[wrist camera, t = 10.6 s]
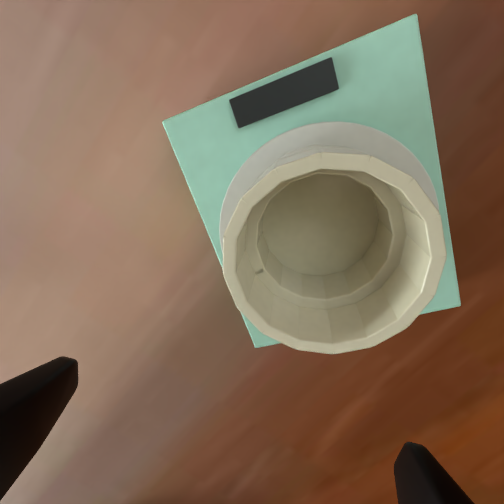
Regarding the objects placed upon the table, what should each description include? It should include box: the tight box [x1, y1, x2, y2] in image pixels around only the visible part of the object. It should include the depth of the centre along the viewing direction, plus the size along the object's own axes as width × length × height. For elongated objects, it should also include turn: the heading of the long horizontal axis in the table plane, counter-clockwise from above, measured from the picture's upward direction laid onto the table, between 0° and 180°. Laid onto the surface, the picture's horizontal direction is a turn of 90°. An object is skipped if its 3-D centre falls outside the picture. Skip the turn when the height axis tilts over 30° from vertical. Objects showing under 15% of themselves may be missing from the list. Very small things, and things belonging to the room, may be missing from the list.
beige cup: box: [222, 144, 447, 354], centre depth 12 cm, size 7×7×5 cm
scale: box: [162, 14, 461, 348], centre depth 15 cm, size 13×11×3 cm
